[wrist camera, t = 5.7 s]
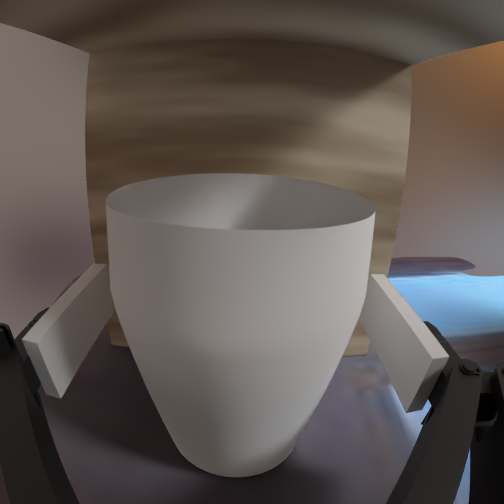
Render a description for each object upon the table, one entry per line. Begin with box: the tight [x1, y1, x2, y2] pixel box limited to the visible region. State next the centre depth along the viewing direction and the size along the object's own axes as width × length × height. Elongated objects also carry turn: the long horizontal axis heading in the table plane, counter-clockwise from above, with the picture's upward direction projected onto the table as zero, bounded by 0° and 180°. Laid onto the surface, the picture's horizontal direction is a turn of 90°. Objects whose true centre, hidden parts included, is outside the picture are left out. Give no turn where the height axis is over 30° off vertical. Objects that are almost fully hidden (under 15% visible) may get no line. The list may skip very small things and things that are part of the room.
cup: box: [106, 173, 376, 477], centre depth 12 cm, size 9×9×12 cm
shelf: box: [0, 0, 504, 356], centre depth 11 cm, size 14×18×20 cm
